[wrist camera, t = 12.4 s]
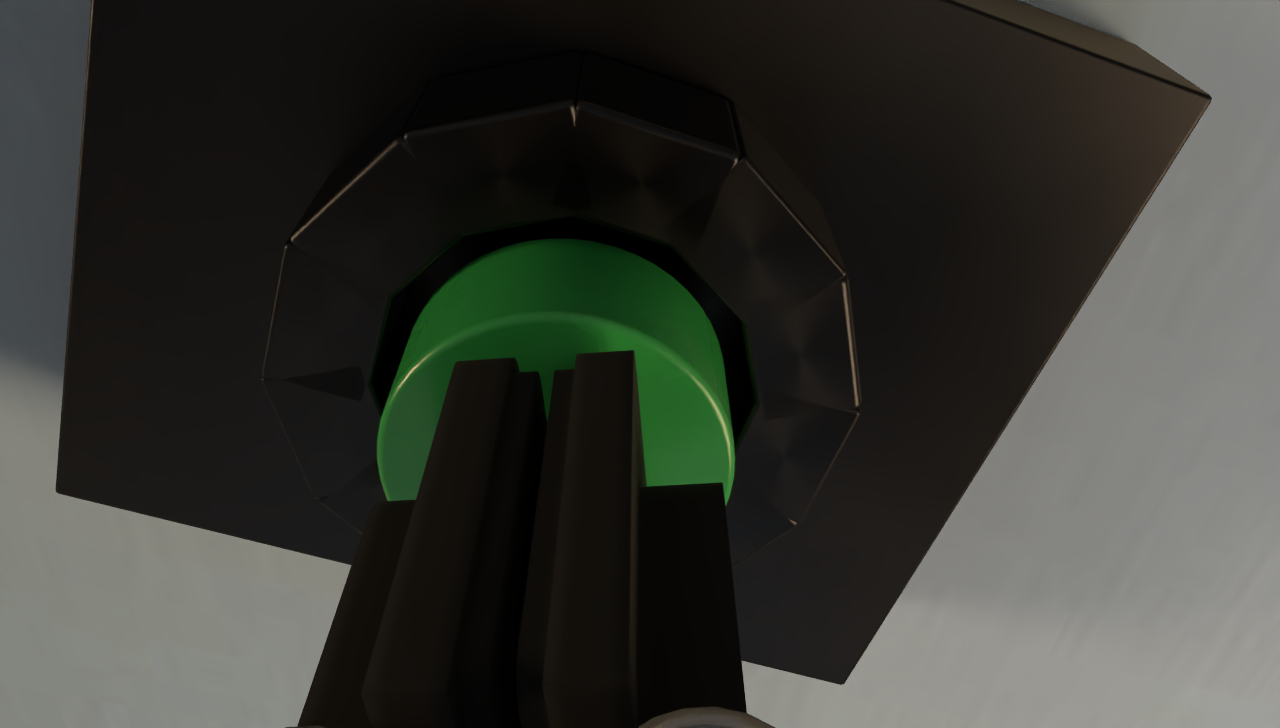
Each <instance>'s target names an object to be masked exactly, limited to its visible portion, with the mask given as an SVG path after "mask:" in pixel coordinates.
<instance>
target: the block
mask: <svg viewBox="0 0 1280 728" xmlns="http://www.w3.org/2000/svg"><path fill="white" fill-rule="evenodd" d="M1211 99H1212V98H1211V96H1210V95H1209V94H1207V93H1206V92H1204V91H1203V90H1202V89H1200V88H1199V87H1197V86H1196V85H1194V84H1193V83H1191V82H1190V81H1188V80H1187V79H1185V78H1184V77H1182V76H1181V75H1179V74H1178V73H1177V72H1175V71H1174V70H1172V69H1171V68H1169V67H1168V66H1166V65H1165V64H1163V63H1162V62H1160V61H1159V60H1157V59H1156V58H1154V57H1153V56H1152V55H1150V54H1149V53H1147V52H1146V51H1144V50H1143V49H1141V48H1140V47H1138V46H1137V45H1135V44H1132V43H1130V42H1127V41H1124V40H1122V39H1119V38H1116V37H1114V36H1111V35H1108V34H1106V33H1103V32H1100V31H1098V30H1095V29H1092V28H1090V27H1087V26H1084V25H1082V24H1079V23H1076V22H1074V21H1071V20H1068V19H1066V18H1063V17H1060V16H1058V15H1055V14H1052V13H1050V12H1047V11H1044V10H1042V9H1039V8H1036V7H1034V6H1031V5H1028V4H1026V3H1023V2H1020V1H1017V0H92V1H91V14H90V28H89V42H88V55H87V69H86V83H85V96H84V110H83V123H82V137H81V151H80V164H79V178H78V192H77V205H76V219H75V233H74V246H73V260H72V274H71V287H70V301H69V315H68V328H67V342H66V356H65V369H64V383H63V397H62V410H61V424H60V438H59V451H58V465H57V479H56V492H57V493H59V494H63V495H67V496H71V497H75V498H79V499H83V500H87V501H91V502H95V503H99V504H104V505H108V506H112V507H116V508H120V509H124V510H128V511H132V512H136V513H140V514H144V515H149V516H153V517H157V518H161V519H165V520H169V521H173V522H177V523H181V524H185V525H190V526H194V527H198V528H202V529H206V530H210V531H214V532H218V533H222V534H226V535H230V536H235V537H239V538H243V539H247V540H251V541H255V542H259V543H263V544H267V545H271V546H275V547H280V548H284V549H288V550H292V551H296V552H300V553H304V554H308V555H312V556H316V557H320V558H325V559H329V560H333V561H337V562H341V563H345V564H349V565H352V563H353V560H354V557H355V554H356V551H357V548H358V545H359V542H360V539H361V536H362V533H363V530H364V527H365V524H366V521H367V518H368V516H369V514H370V512H371V510H372V508H373V506H374V505H376V504H377V503H378V502H381V501H388V500H387V498H386V495H385V492H384V489H383V486H382V483H381V480H380V477H379V470H378V464H377V434H378V428H379V423H380V418H381V416H382V413H383V410H384V407H385V404H386V401H387V399H388V396H389V393H390V390H391V387H392V385H393V382H394V379H395V376H396V374H397V371H398V368H399V365H400V362H401V360H402V357H403V354H404V351H405V349H406V346H407V343H408V340H409V337H410V335H411V332H412V329H413V326H414V324H415V321H416V319H417V318H418V316H419V314H420V312H421V310H422V308H423V306H424V305H425V304H426V302H427V301H428V300H429V298H430V297H431V296H432V294H433V293H434V292H435V290H436V289H437V288H438V287H439V286H440V285H442V284H443V283H444V282H445V281H446V280H447V279H448V278H449V277H450V276H451V275H452V274H454V273H455V272H456V271H458V270H459V269H461V268H462V267H463V266H465V265H466V264H468V263H470V262H471V261H473V260H475V259H477V258H479V257H481V256H482V255H484V254H487V253H489V252H492V251H495V250H497V249H500V248H502V247H505V246H509V245H513V244H517V243H521V242H525V241H531V240H540V239H548V238H572V239H580V240H589V241H595V242H599V243H603V244H607V245H611V246H615V247H618V248H620V249H623V250H626V251H628V252H631V253H634V254H636V255H638V256H640V257H642V258H644V259H645V260H647V261H649V262H651V263H653V264H655V265H656V266H658V267H659V268H661V269H662V270H664V271H665V272H666V273H668V274H669V275H671V276H672V277H673V278H674V279H676V280H677V281H678V282H679V283H680V284H681V285H682V286H683V287H684V288H685V289H687V290H688V291H689V293H690V294H691V295H692V296H693V297H694V299H695V300H696V301H697V302H698V303H699V305H700V306H701V307H702V309H703V311H704V312H705V314H706V316H707V317H708V319H709V320H710V322H711V324H712V326H713V329H714V331H715V333H716V336H717V338H718V341H719V344H720V348H721V352H722V356H723V362H724V370H725V377H726V385H727V392H728V400H729V408H730V415H731V423H732V430H733V438H734V447H735V457H736V459H735V476H734V481H733V485H732V490H731V494H730V497H729V500H728V502H727V505H726V516H727V526H728V535H729V545H730V555H731V565H732V575H733V584H734V594H735V604H736V614H737V623H738V633H739V643H740V653H741V660H742V661H746V662H750V663H754V664H758V665H762V666H767V667H771V668H775V669H779V670H783V671H787V672H791V673H795V674H799V675H803V676H807V677H812V678H816V679H820V680H824V681H828V682H832V683H836V684H840V685H842V684H844V683H845V682H846V680H847V678H848V677H849V675H850V674H851V672H852V670H853V669H854V667H855V666H856V664H857V663H858V661H859V659H860V658H861V656H862V655H863V653H864V651H865V650H866V648H867V647H868V645H869V643H870V642H871V640H872V639H873V637H874V636H875V634H876V632H877V631H878V629H879V628H880V626H881V624H882V623H883V621H884V620H885V618H886V617H887V615H888V613H889V612H890V610H891V609H892V607H893V605H894V604H895V602H896V601H897V599H898V597H899V596H900V594H901V593H902V591H903V590H904V588H905V586H906V585H907V583H908V582H909V580H910V578H911V577H912V575H913V574H914V572H915V570H916V569H917V567H918V566H919V564H920V563H921V561H922V559H923V558H924V556H925V555H926V553H927V551H928V550H929V548H930V547H931V545H932V543H933V542H934V540H935V539H936V537H937V536H938V534H939V532H940V531H941V529H942V528H943V526H944V524H945V523H946V521H947V520H948V518H949V516H950V515H951V513H952V512H953V510H954V509H955V507H956V505H957V504H958V502H959V501H960V499H961V497H962V496H963V494H964V493H965V491H966V490H967V488H968V486H969V485H970V483H971V482H972V480H973V478H974V477H975V475H976V474H977V472H978V470H979V469H980V467H981V466H982V464H983V463H984V461H985V459H986V458H987V456H988V455H989V453H990V451H991V450H992V448H993V447H994V445H995V443H996V442H997V440H998V439H999V437H1000V436H1001V434H1002V432H1003V431H1004V429H1005V428H1006V426H1007V424H1008V423H1009V421H1010V420H1011V418H1012V416H1013V415H1014V413H1015V412H1016V410H1017V409H1018V407H1019V405H1020V404H1021V402H1022V401H1023V399H1024V397H1025V396H1026V394H1027V393H1028V391H1029V389H1030V388H1031V386H1032V385H1033V383H1034V382H1035V380H1036V378H1037V377H1038V375H1039V374H1040V372H1041V370H1042V369H1043V367H1044V366H1045V364H1046V363H1047V361H1048V359H1049V358H1050V356H1051V355H1052V353H1053V351H1054V350H1055V348H1056V347H1057V345H1058V343H1059V342H1060V340H1061V339H1062V337H1063V336H1064V334H1065V332H1066V331H1067V329H1068V328H1069V326H1070V324H1071V323H1072V321H1073V320H1074V318H1075V316H1076V315H1077V313H1078V312H1079V310H1080V309H1081V307H1082V305H1083V304H1084V302H1085V301H1086V299H1087V297H1088V296H1089V294H1090V293H1091V291H1092V289H1093V288H1094V286H1095V285H1096V283H1097V282H1098V280H1099V278H1100V277H1101V275H1102V274H1103V272H1104V270H1105V269H1106V267H1107V266H1108V264H1109V263H1110V261H1111V259H1112V258H1113V256H1114V255H1115V253H1116V251H1117V250H1118V248H1119V247H1120V245H1121V243H1122V242H1123V240H1124V239H1125V237H1126V236H1127V234H1128V232H1129V231H1130V229H1131V228H1132V226H1133V224H1134V223H1135V221H1136V220H1137V218H1138V216H1139V215H1140V213H1141V212H1142V210H1143V209H1144V207H1145V205H1146V204H1147V202H1148V201H1149V199H1150V197H1151V196H1152V194H1153V193H1154V191H1155V189H1156V188H1157V186H1158V185H1159V183H1160V182H1161V180H1162V178H1163V177H1164V175H1165V174H1166V172H1167V170H1168V169H1169V167H1170V166H1171V164H1172V162H1173V161H1174V159H1175V158H1176V156H1177V155H1178V153H1179V151H1180V150H1181V148H1182V147H1183V145H1184V143H1185V142H1186V140H1187V139H1188V137H1189V136H1190V134H1191V132H1192V131H1193V129H1194V128H1195V126H1196V124H1197V123H1198V121H1199V120H1200V118H1201V116H1202V115H1203V113H1204V112H1205V110H1206V109H1207V107H1208V105H1209V104H1210V102H1211Z"/></svg>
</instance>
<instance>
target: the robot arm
mask: <svg viewBox="0 0 1280 728" xmlns="http://www.w3.org/2000/svg"><path fill="white" fill-rule="evenodd" d="M286 728H775V727H773V726H771V725H769V724H767V723H765V722H763V721H761V720H759V719H757V718H755V717H753V716H751V715H749V714H748V713H747V711H746V701H745V692H744V682H743V672H742V662H741V653H740V643H739V633H738V623H737V614H736V604H735V594H734V584H733V575H732V565H731V555H730V545H729V535H728V526H727V516H726V506H725V497H724V488H723V483H722V482H720V483H702V484H684V485H666V486H649V487H647V483H646V471H645V460H644V449H643V437H642V426H641V414H640V403H639V392H638V380H637V369H636V359H635V353H634V350H628V351H612V352H595V353H579V354H576V359H575V368H574V369H565V370H555V372H554V378H553V385H552V393H551V400H550V408H549V415H548V423H547V418H546V411H545V404H544V397H543V390H542V384H541V378H540V375H539V373H538V371H532V372H520V370H519V366H518V363H517V360H516V359H515V357H514V358H497V359H481V360H465V361H457V362H456V363H455V365H454V367H453V371H452V374H451V378H450V381H449V385H448V388H447V392H446V396H445V399H444V403H443V406H442V410H441V413H440V417H439V420H438V424H437V427H436V431H435V434H434V438H433V441H432V445H431V448H430V452H429V455H428V459H427V462H426V466H425V469H424V473H423V477H422V480H421V484H420V487H419V491H418V494H417V498H416V500H399V501H381V502H378V503H377V504H376V505H374V506H373V508H372V510H371V512H370V514H369V516H368V518H367V521H366V524H365V527H364V530H363V533H362V536H361V539H360V542H359V545H358V548H357V551H356V554H355V557H354V560H353V563H352V566H351V569H350V572H349V575H348V578H347V581H346V584H345V587H344V590H343V593H342V596H341V599H340V602H339V604H338V607H337V610H336V613H335V616H334V619H333V622H332V625H331V628H330V631H329V634H328V637H327V640H326V643H325V646H324V649H323V652H322V655H321V658H320V661H319V664H318V667H317V670H316V673H315V676H314V679H313V682H312V685H311V688H310V691H309V694H308V697H307V700H306V703H305V705H304V708H303V711H302V714H301V717H300V720H299V723H298V726H297V727H286Z"/></svg>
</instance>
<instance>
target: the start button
mask: <svg viewBox="0 0 1280 728" xmlns="http://www.w3.org/2000/svg"><path fill="white" fill-rule="evenodd" d="M628 350H634V353H635V359H636V369H637V380H638V392H639V403H640V414H641V426H642V437H643V449H644V460H645V471H646V483H647V487H649V486H666V485H684V484H702V483H720V482H722V483H723V488H724V497H725V506H726V505H727V502H728V500H729V497H730V494H731V490H732V485H733V481H734V476H735V459H736V457H735V447H734V438H733V430H732V423H731V415H730V408H729V400H728V392H727V385H726V377H725V370H724V362H723V356H722V352H721V348H720V344H719V341H718V338H717V336H716V333H715V331H714V329H713V326H712V324H711V322H710V320H709V319H708V317H707V316H706V314H705V312H704V311H703V309H702V307H701V306H700V305H699V303H698V302H697V301H696V300H695V299H694V297H693V296H692V295H691V294H690V293H689V291H688V290H687V289H685V288H684V287H683V286H682V285H681V284H680V283H679V282H678V281H677V280H676V279H674V278H673V277H672V276H671V275H669V274H668V273H666V272H665V271H664V270H662V269H661V268H659V267H658V266H656V265H655V264H653V263H651V262H649V261H647V260H645V259H644V258H642V257H640V256H638V255H636V254H634V253H631V252H628V251H626V250H623V249H620V248H618V247H615V246H611V245H607V244H603V243H599V242H595V241H589V240H580V239H572V238H548V239H540V240H531V241H525V242H521V243H517V244H513V245H509V246H505V247H502V248H500V249H497V250H495V251H492V252H489V253H487V254H484V255H482V256H481V257H479V258H477V259H475V260H473V261H471V262H470V263H468V264H466V265H465V266H463V267H462V268H461V269H459V270H458V271H456V272H455V273H454V274H452V275H451V276H450V277H449V278H448V279H447V280H446V281H445V282H444V283H443V284H442V285H440V286H439V287H438V288H437V289H436V290H435V292H434V293H433V294H432V296H431V297H430V298H429V300H428V301H427V302H426V304H425V305H424V306H423V308H422V310H421V312H420V314H419V316H418V318H417V319H416V321H415V324H414V326H413V329H412V332H411V335H410V337H409V340H408V343H407V346H406V349H405V351H404V354H403V357H402V360H401V362H400V365H399V368H398V371H397V374H396V376H395V379H394V382H393V385H392V387H391V390H390V393H389V396H388V399H387V401H386V404H385V407H384V410H383V413H382V416H381V418H380V423H379V428H378V434H377V464H378V470H379V477H380V480H381V483H382V486H383V489H384V492H385V495H386V498H387V500H388V501H399V500H416V498H417V494H418V491H419V487H420V484H421V480H422V477H423V473H424V469H425V466H426V462H427V459H428V455H429V452H430V448H431V445H432V441H433V438H434V434H435V431H436V427H437V424H438V420H439V417H440V413H441V410H442V406H443V403H444V399H445V396H446V392H447V388H448V385H449V381H450V378H451V374H452V371H453V367H454V365H455V363H456V362H457V361H465V360H481V359H497V358H514V357H515V359H516V360H517V363H518V366H519V370H520V372H532V371H538V373H539V375H540V378H541V384H542V390H543V397H544V404H545V411H546V418H547V423H548V415H549V408H550V400H551V393H552V385H553V378H554V372H555V370H565V369H574V368H575V359H576V354H579V353H595V352H612V351H628Z"/></svg>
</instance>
